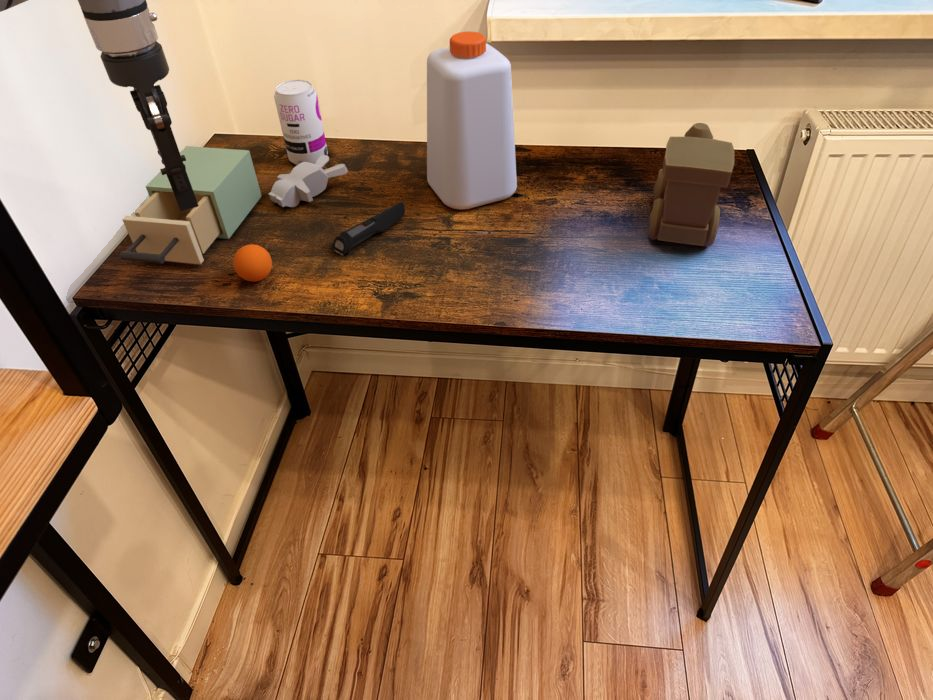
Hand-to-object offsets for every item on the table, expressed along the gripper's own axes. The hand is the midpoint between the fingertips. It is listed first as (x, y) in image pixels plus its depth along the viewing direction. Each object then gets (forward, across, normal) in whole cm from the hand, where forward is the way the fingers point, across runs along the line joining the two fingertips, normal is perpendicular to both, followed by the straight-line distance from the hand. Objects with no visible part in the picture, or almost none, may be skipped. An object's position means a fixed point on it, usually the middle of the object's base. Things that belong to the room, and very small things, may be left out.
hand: (188, 206), depth 102 cm
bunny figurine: (+14, +18, -22) cm, 32 cm away
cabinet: (+14, +20, -4) cm, 24 cm away
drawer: (+13, +10, +3) cm, 16 cm away
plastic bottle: (+14, +3, -50) cm, 52 cm away
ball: (+11, -4, -6) cm, 13 cm away
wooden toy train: (+14, -27, -76) cm, 82 cm away
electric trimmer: (+14, -2, -27) cm, 31 cm away
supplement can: (+14, +31, -27) cm, 43 cm away
